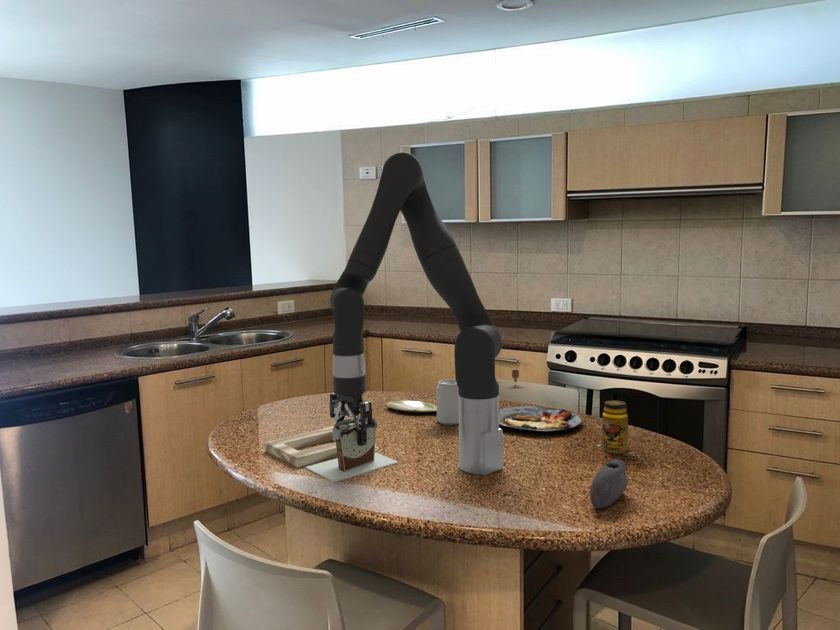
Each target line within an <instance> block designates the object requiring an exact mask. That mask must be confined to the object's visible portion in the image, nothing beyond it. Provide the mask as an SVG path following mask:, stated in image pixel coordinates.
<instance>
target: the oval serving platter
mask: <svg viewBox="0 0 840 630" xmlns="http://www.w3.org/2000/svg"><path fill="white" fill-rule="evenodd" d="M386 406H387V407H388V408H390V409H393V410H397V411H403V412H407V413H414V414H415V413H416V414H423V413H430V412H437V404H435V403H431V402H425V401H417V400H393V401H390V402H389V401H388V402H387V403H386Z"/></svg>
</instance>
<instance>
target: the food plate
mask: <svg viewBox="0 0 840 630" xmlns="http://www.w3.org/2000/svg"><path fill="white" fill-rule="evenodd" d="M538 416H539V417H538ZM583 420H584V419H582V417H581V416H580V415H579V414H576V413H573V411H570V410H566V409H563V408H561V409H560V408H553V407H545V406H534V405H530V406H529V405H528V406H526V405H523V406H515V407H511V406H510V407H504V408H501V409H500V408H499V425H501V426H504V427H508V428H513V429H516V430H527V431H529V432H531V431H537V432H548V433H552V432H559V431H560V432H561V431H567V430H573V429H575V428H577V427H578V426H579V425H581V424H583V422H584V421H583Z"/></svg>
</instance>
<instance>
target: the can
mask: <svg viewBox="0 0 840 630" xmlns="http://www.w3.org/2000/svg"><path fill="white" fill-rule="evenodd" d="M435 388H436V390H435V391H436V392H435V393H436V396H435V397H436V405H437V411H436V420H437V422H439V424H441V425H445V426H455V425H459V394H458V386H457V383H456V379H441V380H439V381H438V384H437V386H436V387H435Z"/></svg>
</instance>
